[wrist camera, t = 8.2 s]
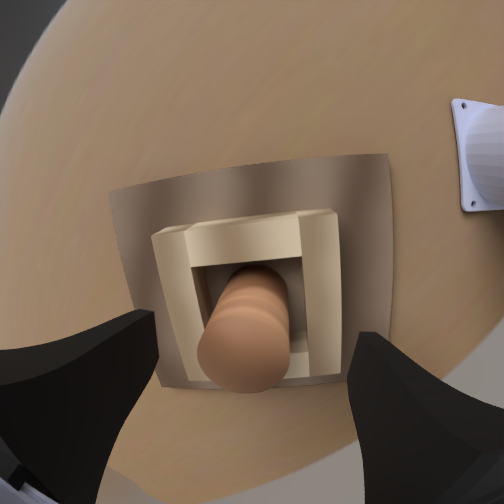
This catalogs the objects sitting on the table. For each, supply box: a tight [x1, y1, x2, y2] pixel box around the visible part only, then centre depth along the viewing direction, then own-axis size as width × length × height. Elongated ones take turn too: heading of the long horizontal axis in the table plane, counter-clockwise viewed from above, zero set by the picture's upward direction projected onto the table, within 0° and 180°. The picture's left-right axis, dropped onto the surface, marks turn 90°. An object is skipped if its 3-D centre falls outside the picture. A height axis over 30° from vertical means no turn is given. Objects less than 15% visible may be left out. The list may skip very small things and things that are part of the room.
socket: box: [108, 154, 393, 389], centre depth 18 cm, size 18×16×4 cm
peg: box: [197, 264, 290, 393], centre depth 15 cm, size 4×4×7 cm
